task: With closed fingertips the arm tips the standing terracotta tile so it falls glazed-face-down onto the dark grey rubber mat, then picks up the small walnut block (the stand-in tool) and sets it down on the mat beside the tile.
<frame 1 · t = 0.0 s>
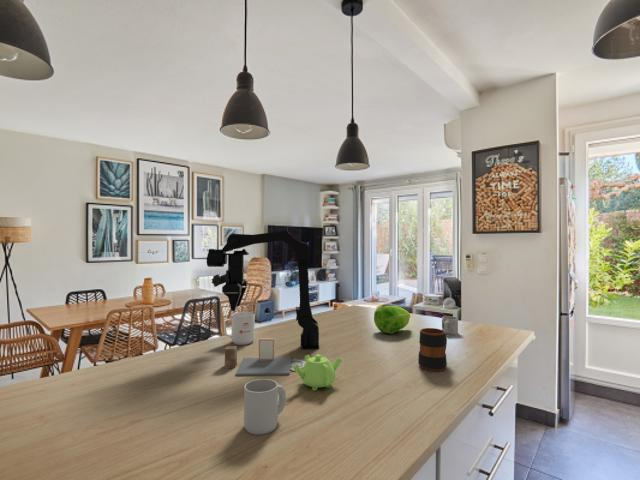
hand: (235, 308, 133), 15 cm above the worktop, fingers open, 9 cm apart
mug: (239, 343, 139), on the worktop
walnut block: (230, 366, 113), on the worktop
mat: (265, 366, 112), on the worktop
teapot: (316, 385, 99), on the worktop
lettuce: (394, 331, 157), on the worktop
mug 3: (448, 334, 154), on the worktop
tile: (266, 359, 117), point 1 cm above the worktop, touching mat
mug 2: (435, 366, 114), on the worktop
cup: (266, 425, 78), on the worktop
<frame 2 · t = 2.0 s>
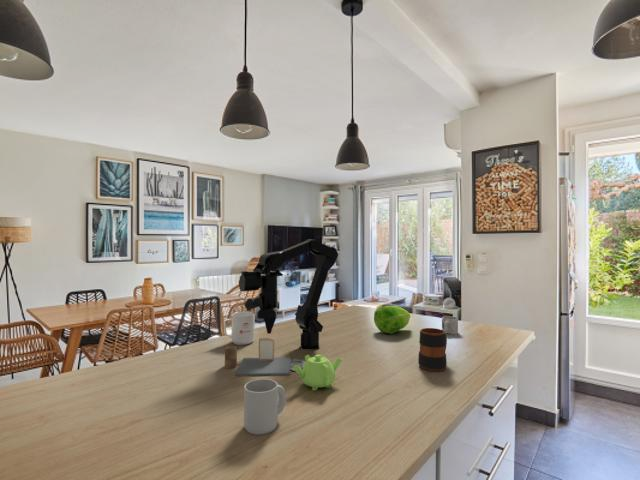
hand: (269, 333, 124), 8 cm above the worktop, fingers closed
nothing on the worktop moved.
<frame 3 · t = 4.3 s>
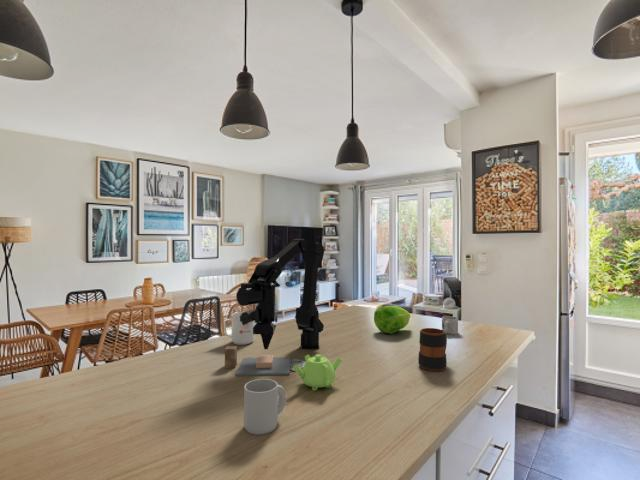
hand: (266, 349, 116), 5 cm above the worktop, fingers closed
tile: (266, 357, 117), point 2 cm above the worktop, tilted 90°, touching mat
everything else where it was.
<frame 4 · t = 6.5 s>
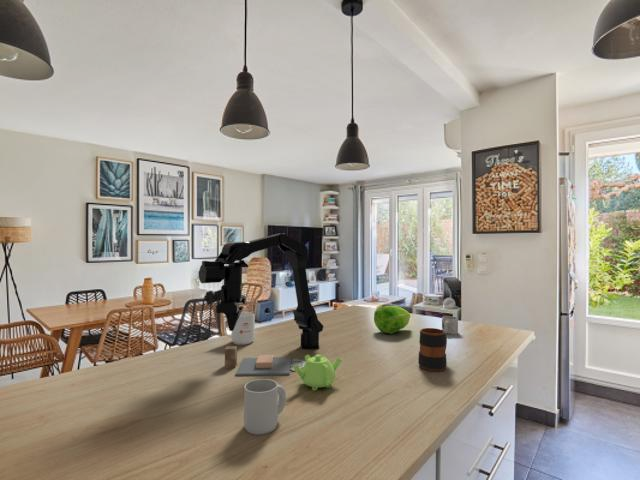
hand: (231, 330, 113), 12 cm above the worktop, fingers closed
nothing on the worktop moved.
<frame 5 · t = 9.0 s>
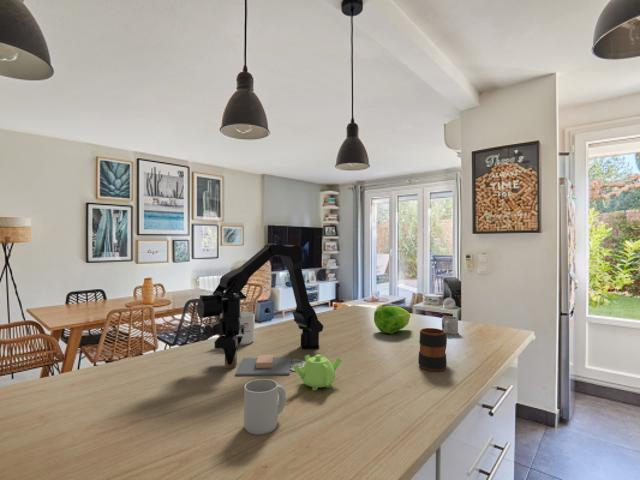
hand: (230, 362, 113), 1 cm above the worktop, fingers closed on walnut block, 3 cm apart
walnut block: (230, 366, 113), on the worktop, touching gripper
everything else where it was.
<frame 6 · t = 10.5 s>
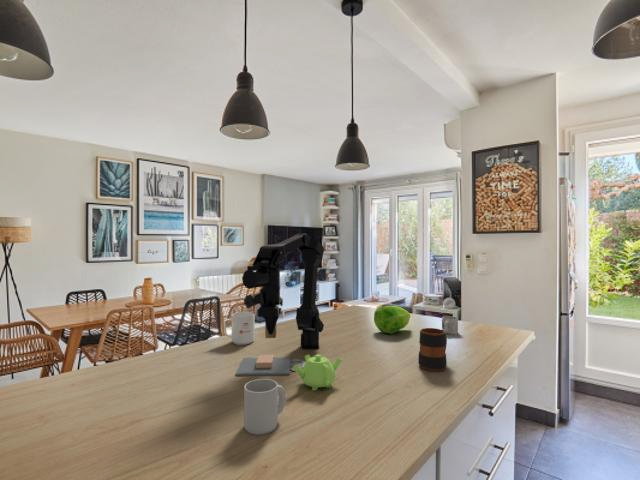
hand: (271, 332, 114), 11 cm above the worktop, fingers closed on walnut block, 3 cm apart
walnut block: (271, 336, 114), point 9 cm above the worktop, touching gripper
everything else where it was.
when the fingers open (3 cm above the worktop, at t = 12.5 s): walnut block drops 1 cm, resting on mat.
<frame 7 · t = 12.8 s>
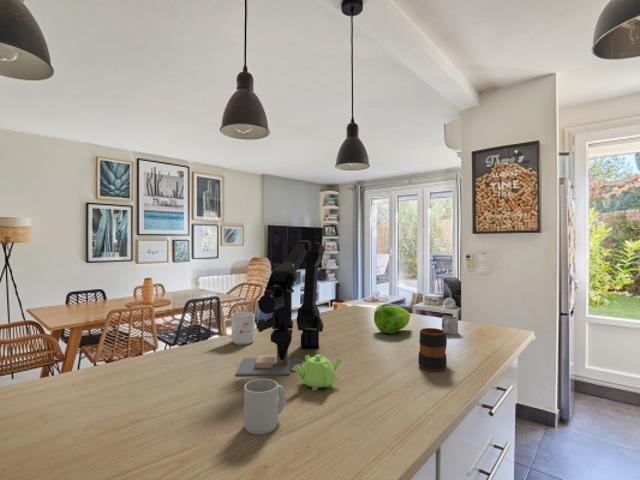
hand: (282, 356, 114), 3 cm above the worktop, fingers open, 6 cm apart
walnut block: (282, 363, 114), point 1 cm above the worktop, touching mat
everything else where it was.
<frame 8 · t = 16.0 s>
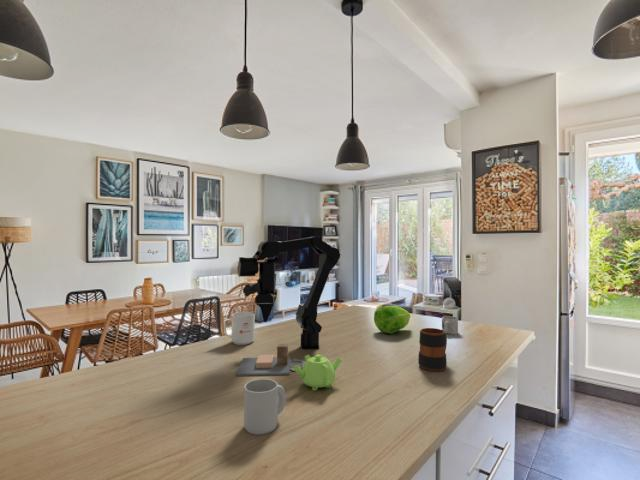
hand: (266, 318, 127), 12 cm above the worktop, fingers open, 9 cm apart
nothing on the worktop moved.
at the end: tile tilted 90°; tile inside the target area on the mat (4.1 cm from its centre), point 1.6 cm above the mat's base; walnut block inside the target area on the mat (5.6 cm from its centre), point 0.6 cm above the mat's base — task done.
